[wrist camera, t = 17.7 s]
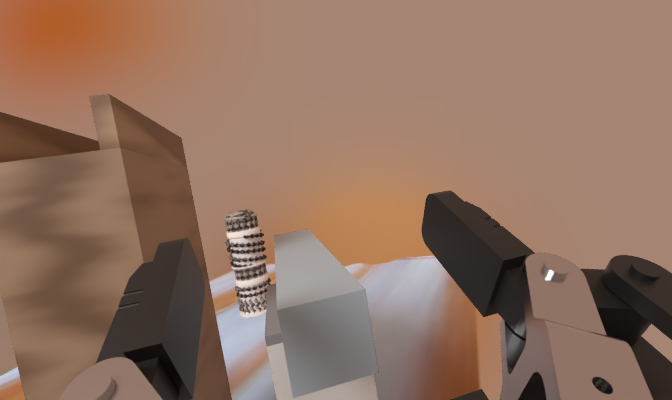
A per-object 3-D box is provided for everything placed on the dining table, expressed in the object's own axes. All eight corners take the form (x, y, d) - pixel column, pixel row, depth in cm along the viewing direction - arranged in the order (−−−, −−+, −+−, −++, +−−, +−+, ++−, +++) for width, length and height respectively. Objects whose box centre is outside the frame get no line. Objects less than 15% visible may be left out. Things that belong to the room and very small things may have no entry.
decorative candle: (277, 299, 82) (261, 206, 80) (274, 313, 73) (255, 209, 71) (243, 306, 81) (225, 212, 80) (235, 321, 72) (215, 216, 70)
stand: (99, 715, 18) (-43, 108, 16) (174, 488, 31) (103, 147, 29) (224, 659, 19) (109, 94, 17) (244, 464, 33) (181, 137, 31)
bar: (293, 398, 12) (277, 310, 12) (280, 268, 33) (274, 235, 33) (379, 372, 13) (365, 288, 13) (312, 261, 34) (307, 228, 34)
